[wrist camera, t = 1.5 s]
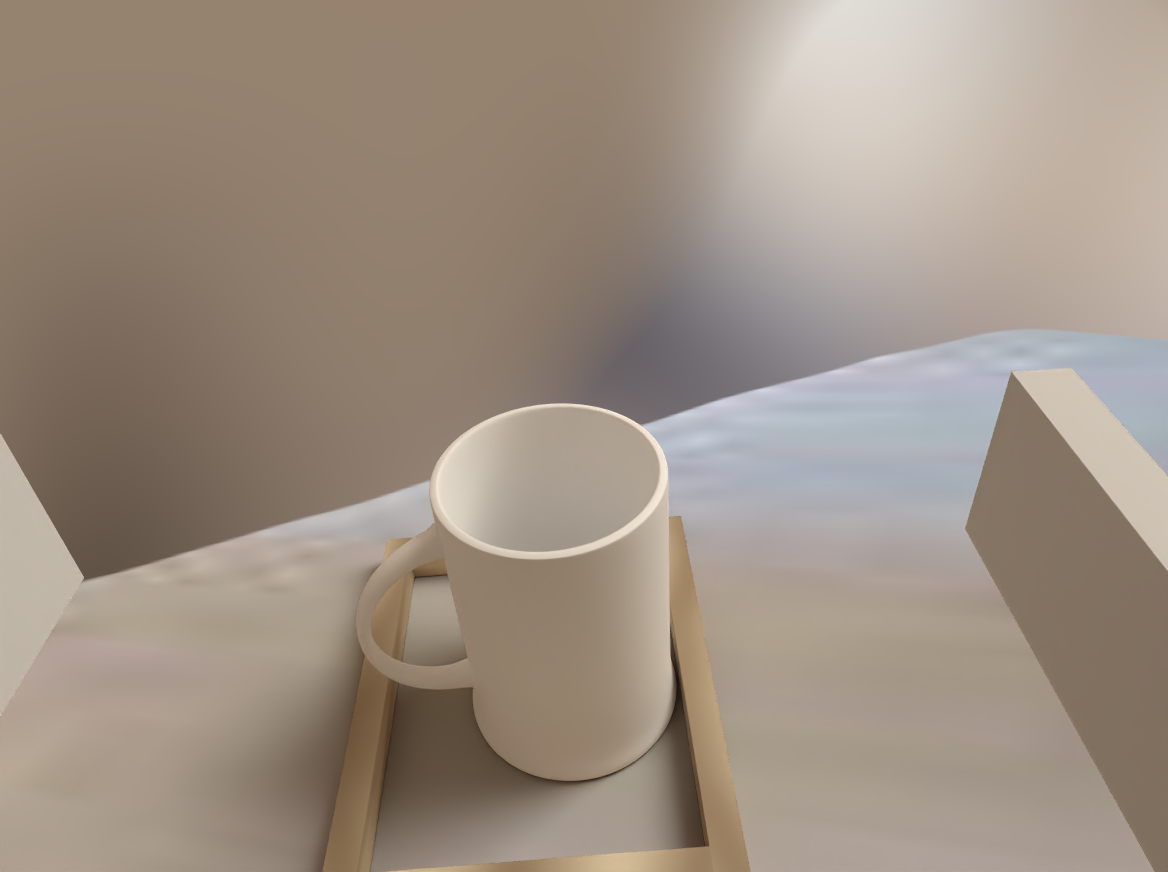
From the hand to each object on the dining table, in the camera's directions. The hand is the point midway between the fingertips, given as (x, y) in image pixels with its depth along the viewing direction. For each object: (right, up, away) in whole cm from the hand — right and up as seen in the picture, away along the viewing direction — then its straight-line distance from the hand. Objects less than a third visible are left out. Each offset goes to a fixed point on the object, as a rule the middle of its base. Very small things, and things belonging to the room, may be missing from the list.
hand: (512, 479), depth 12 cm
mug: (-1, -11, +24) cm, 27 cm away
